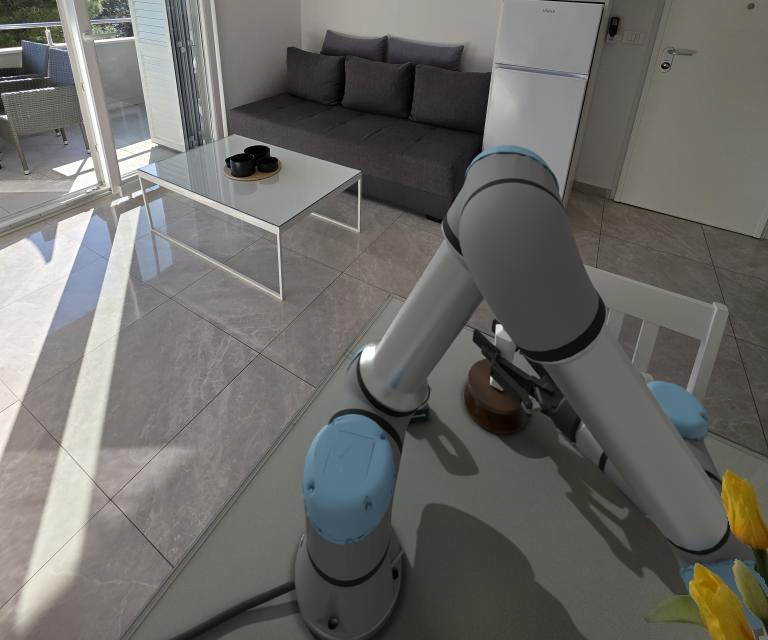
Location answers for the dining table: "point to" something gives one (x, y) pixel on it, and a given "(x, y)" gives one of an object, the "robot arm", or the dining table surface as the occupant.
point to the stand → (491, 402)
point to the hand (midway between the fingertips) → (484, 329)
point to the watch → (422, 409)
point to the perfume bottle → (503, 349)
